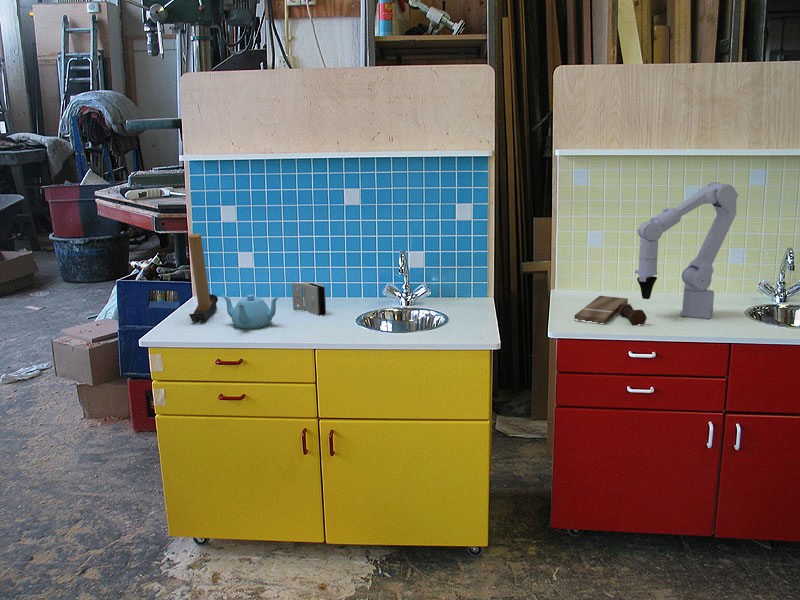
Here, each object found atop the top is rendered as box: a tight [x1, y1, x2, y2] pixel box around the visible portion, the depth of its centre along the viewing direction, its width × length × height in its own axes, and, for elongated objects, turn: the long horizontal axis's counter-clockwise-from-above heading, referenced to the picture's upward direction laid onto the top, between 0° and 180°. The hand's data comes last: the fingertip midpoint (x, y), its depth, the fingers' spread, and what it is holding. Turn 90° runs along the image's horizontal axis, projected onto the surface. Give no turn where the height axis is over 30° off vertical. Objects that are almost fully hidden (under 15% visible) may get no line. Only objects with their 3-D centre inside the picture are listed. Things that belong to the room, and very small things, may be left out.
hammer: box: [188, 233, 219, 322], centre depth 256 cm, size 20×5×30 cm, turn 0°
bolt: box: [617, 303, 648, 326], centre depth 248 cm, size 6×5×15 cm
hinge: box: [291, 281, 327, 316], centre depth 264 cm, size 14×5×10 cm, turn 51°
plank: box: [574, 295, 629, 325], centre depth 257 cm, size 10×30×2 cm, turn 150°
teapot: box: [221, 294, 281, 330], centre depth 248 cm, size 15×15×10 cm
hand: (646, 298), depth 250 cm, fingers closed
